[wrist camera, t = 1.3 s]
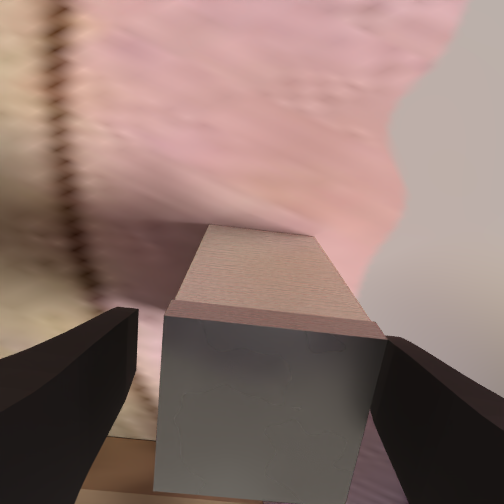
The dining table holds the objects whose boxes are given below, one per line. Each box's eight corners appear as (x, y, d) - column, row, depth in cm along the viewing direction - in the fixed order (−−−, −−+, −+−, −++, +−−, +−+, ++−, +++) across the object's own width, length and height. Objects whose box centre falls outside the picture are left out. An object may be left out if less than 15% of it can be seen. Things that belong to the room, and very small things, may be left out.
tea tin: (315, 235, 16) (387, 339, 8) (298, 331, 18) (344, 507, 9) (208, 223, 16) (163, 315, 8) (199, 320, 17) (152, 491, 9)
